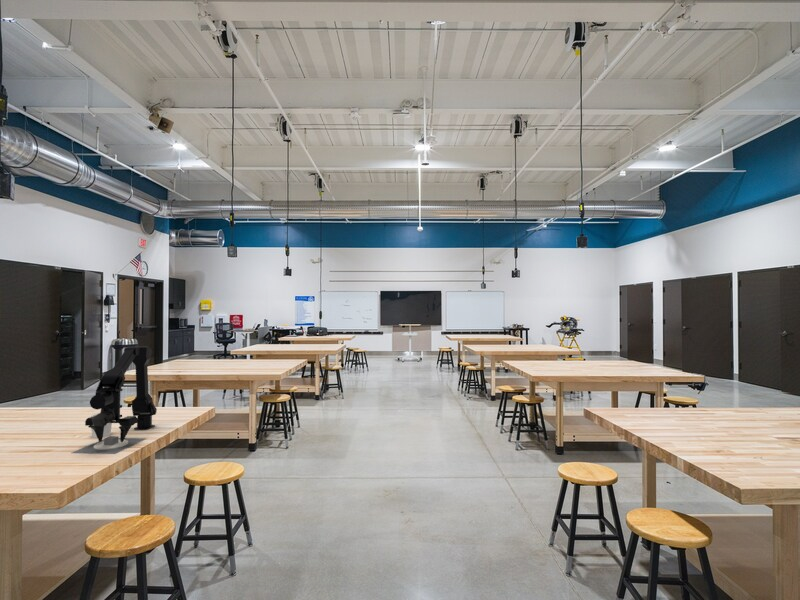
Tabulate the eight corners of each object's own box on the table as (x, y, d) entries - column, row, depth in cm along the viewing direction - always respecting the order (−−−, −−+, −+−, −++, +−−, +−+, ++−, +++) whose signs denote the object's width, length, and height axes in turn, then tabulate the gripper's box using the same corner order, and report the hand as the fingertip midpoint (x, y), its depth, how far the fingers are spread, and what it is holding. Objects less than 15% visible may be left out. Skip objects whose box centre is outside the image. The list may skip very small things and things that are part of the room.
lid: (107, 440, 183) (107, 433, 183) (134, 441, 182) (134, 433, 182) (85, 449, 171) (86, 441, 171) (115, 450, 170) (115, 442, 170)
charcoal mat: (107, 438, 187) (107, 437, 187) (147, 439, 186) (147, 438, 186) (70, 454, 167) (70, 452, 167) (115, 455, 166) (115, 453, 166)
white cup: (87, 440, 185) (87, 417, 185) (95, 434, 193) (95, 412, 193) (108, 438, 187) (108, 415, 188) (114, 433, 195) (115, 411, 195)
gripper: (74, 408, 169) (73, 447, 169) (120, 408, 169) (119, 448, 168) (95, 402, 180) (94, 439, 180) (138, 402, 180) (137, 439, 179)
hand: (111, 441), depth 177 cm, fingers open, 9 cm apart
